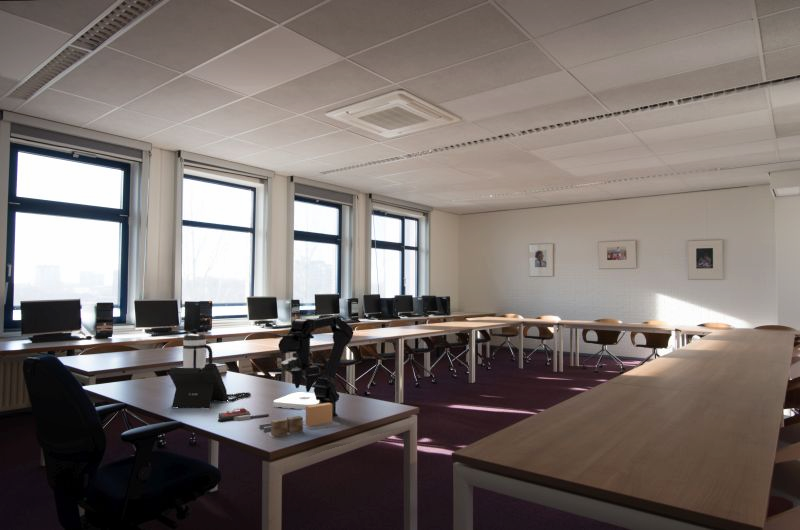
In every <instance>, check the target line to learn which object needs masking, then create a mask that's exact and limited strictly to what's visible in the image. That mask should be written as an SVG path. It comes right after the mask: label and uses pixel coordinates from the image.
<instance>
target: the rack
mask: <svg viewBox="0 0 800 530" xmlns="http://www.w3.org/2000/svg"><path fill="white" fill-rule="evenodd" d="M258 426H259V427H258V429H259V430H261V431H263V432H264V433H265V434H266V435H268V436H269V437H271V438H275V437H276V438H277V436H273V435H271V422H267V423H261V424H259V425H258ZM303 432H306V430H305V429H303V431H301V432H300V433H303ZM297 433H299V432H295V433H288V432H287V434H284V435H279V436H278V437H282V436H286V435H291V434H292V435H293V434H297Z"/></svg>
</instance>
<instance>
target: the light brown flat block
mask: <svg viewBox="0 0 800 530" xmlns="http://www.w3.org/2000/svg"><path fill="white" fill-rule="evenodd" d="M332 420H333V416H332V404H331V403H323V404H316V405H310V406H306V409H305V421H306V425H308V426H312V425H318V424H323V423H329V422H332Z"/></svg>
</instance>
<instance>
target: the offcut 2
mask: <svg viewBox="0 0 800 530" xmlns="http://www.w3.org/2000/svg"><path fill="white" fill-rule="evenodd" d="M286 420H287V432H288V433H293V434H296V433H295V432H298V433H302V432H301V431H303V430H304V428H303V427H304V425H303V421H304V418H303V416H301V415H296V416H291V417H287V418H286Z"/></svg>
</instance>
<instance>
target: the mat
mask: <svg viewBox="0 0 800 530" xmlns="http://www.w3.org/2000/svg"><path fill="white" fill-rule="evenodd" d="M336 426H341V423H338V422H336V421H335V420H333V419H332V422H329V423H323V424H318V425H312V426H308V425H306V420H303V427H306V428H307V429H309V430H311V431H315V430H319V429H325V428H330V427H336Z"/></svg>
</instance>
